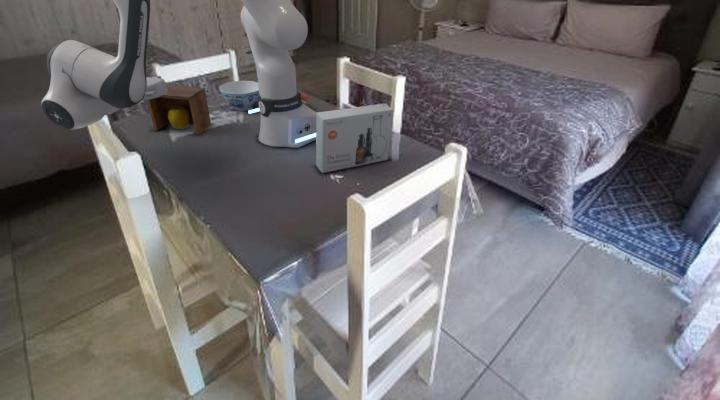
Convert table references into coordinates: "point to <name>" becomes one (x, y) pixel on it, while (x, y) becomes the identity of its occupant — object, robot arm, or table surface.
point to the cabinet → (185, 98)
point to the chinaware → (240, 94)
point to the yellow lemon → (179, 117)
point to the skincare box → (353, 136)
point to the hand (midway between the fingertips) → (143, 77)
